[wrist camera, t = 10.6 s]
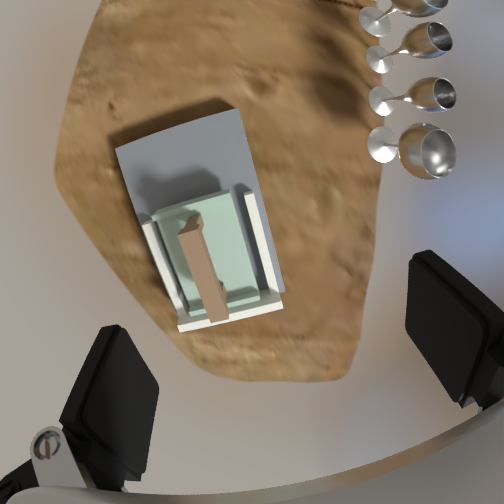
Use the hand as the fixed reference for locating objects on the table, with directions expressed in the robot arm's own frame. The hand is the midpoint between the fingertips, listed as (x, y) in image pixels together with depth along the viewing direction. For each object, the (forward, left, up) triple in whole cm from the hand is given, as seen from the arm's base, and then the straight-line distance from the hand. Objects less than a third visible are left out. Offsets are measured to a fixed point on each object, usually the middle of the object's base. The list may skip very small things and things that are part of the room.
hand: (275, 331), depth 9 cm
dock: (+3, -5, -28) cm, 28 cm away
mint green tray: (+5, -5, -25) cm, 26 cm away
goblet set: (-12, +21, -28) cm, 37 cm away
